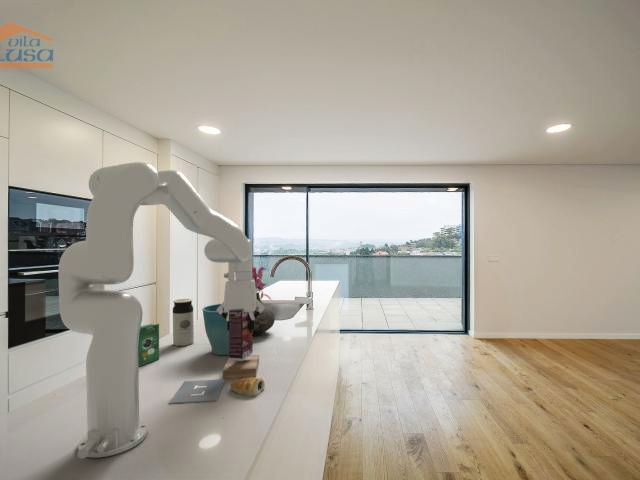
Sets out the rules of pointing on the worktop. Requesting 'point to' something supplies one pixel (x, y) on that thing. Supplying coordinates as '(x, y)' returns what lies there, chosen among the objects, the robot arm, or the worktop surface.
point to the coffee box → (148, 344)
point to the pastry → (248, 386)
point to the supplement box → (239, 335)
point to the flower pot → (216, 329)
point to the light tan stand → (242, 367)
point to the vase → (267, 315)
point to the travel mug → (183, 322)
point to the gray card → (198, 391)
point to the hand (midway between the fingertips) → (241, 331)
